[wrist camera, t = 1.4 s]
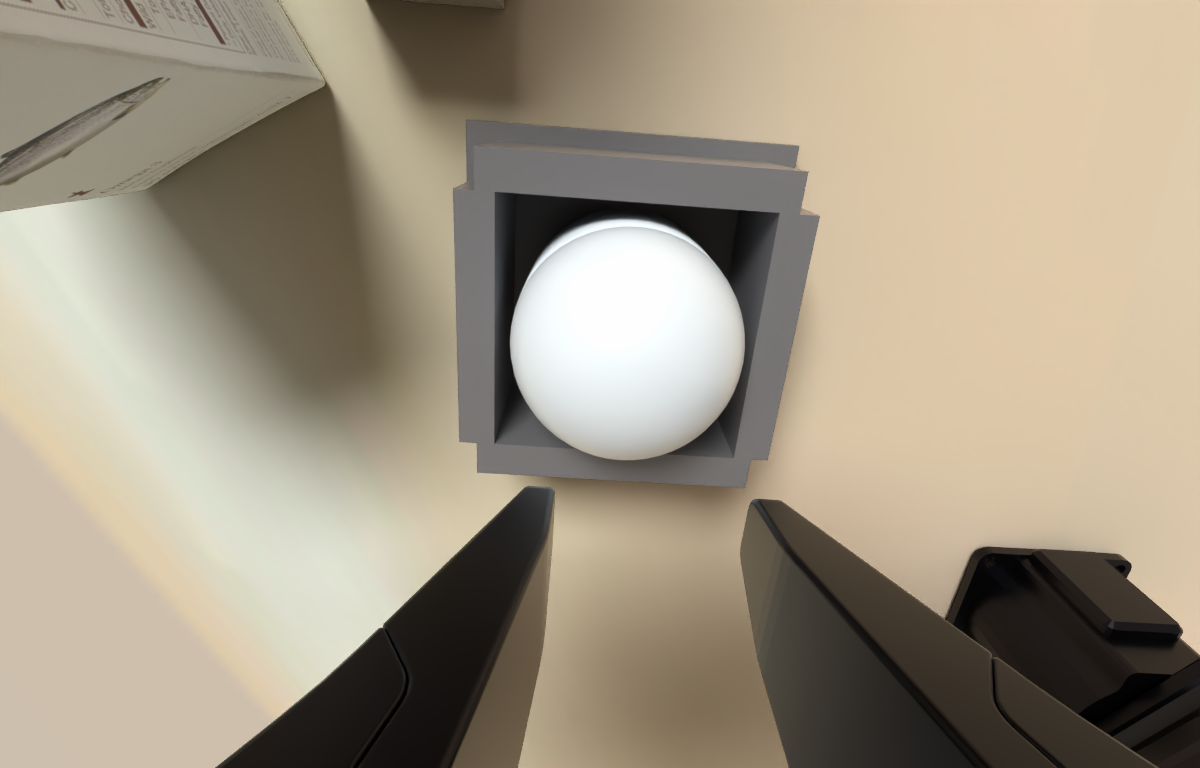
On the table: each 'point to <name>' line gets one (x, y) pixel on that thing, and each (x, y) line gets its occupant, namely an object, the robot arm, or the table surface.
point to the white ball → (626, 336)
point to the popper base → (643, 182)
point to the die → (468, 3)
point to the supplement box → (134, 89)
